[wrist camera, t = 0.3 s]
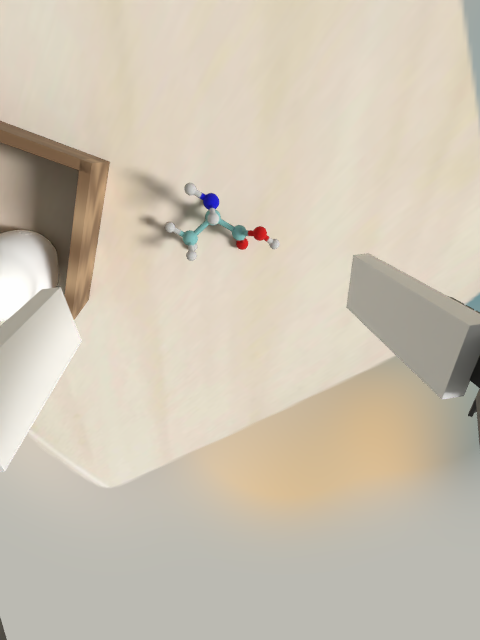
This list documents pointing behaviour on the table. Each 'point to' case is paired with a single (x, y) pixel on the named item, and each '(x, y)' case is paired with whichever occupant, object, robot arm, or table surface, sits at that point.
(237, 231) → the molecular model
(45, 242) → the figurine
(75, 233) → the walnut box
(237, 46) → the table surface
